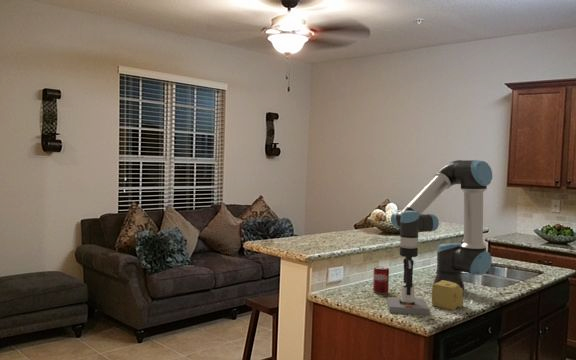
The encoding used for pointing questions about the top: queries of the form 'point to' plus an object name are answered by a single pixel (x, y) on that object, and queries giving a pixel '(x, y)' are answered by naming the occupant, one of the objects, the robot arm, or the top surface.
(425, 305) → the socket
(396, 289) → the top surface
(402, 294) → the plug
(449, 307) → the cheese
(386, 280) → the soda can
